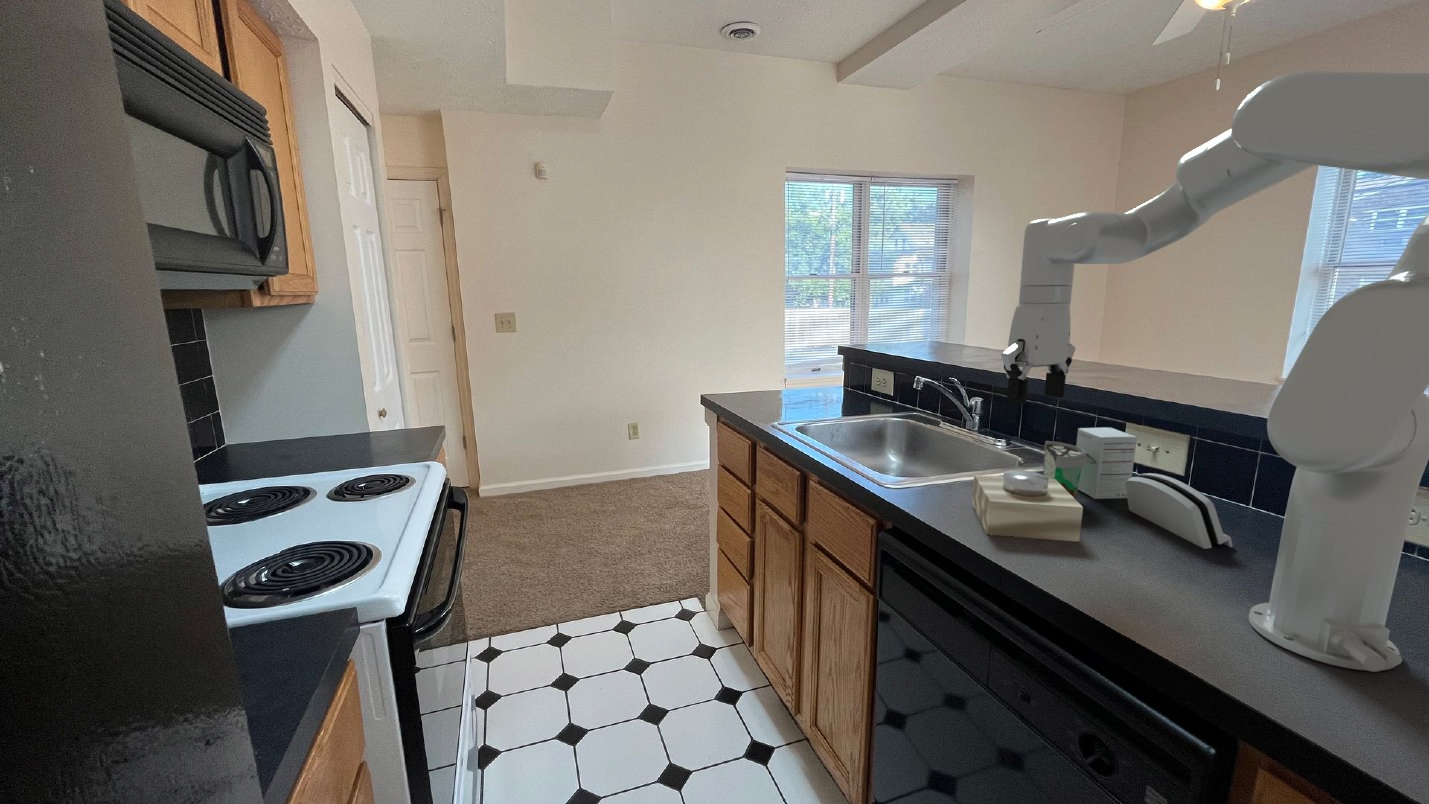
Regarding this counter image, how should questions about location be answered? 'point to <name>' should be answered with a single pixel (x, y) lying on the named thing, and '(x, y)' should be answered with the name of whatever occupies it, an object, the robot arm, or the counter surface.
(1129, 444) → the supplement box
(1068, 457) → the food container
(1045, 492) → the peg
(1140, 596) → the counter surface
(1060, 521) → the block
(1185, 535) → the white curved block
